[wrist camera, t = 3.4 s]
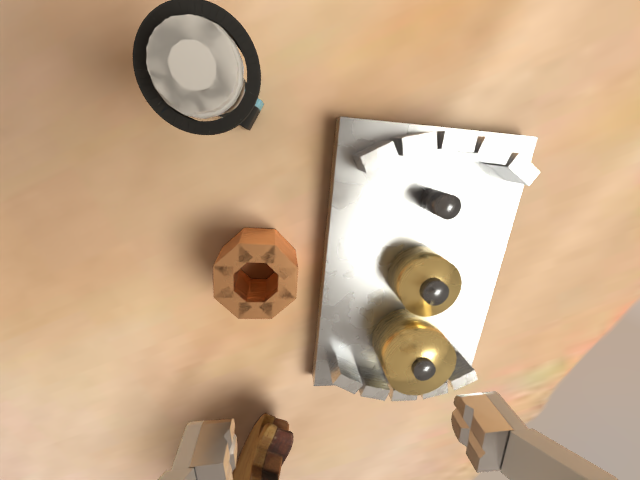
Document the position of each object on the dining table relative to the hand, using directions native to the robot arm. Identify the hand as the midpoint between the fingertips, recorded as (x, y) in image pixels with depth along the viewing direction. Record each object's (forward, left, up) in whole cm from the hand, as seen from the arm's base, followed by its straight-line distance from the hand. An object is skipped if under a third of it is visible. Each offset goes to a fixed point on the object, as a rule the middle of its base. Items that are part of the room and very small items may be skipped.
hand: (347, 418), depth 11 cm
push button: (-7, +12, -17) cm, 22 cm away
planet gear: (-4, -1, -16) cm, 17 cm away
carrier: (+9, -1, -16) cm, 19 cm away
